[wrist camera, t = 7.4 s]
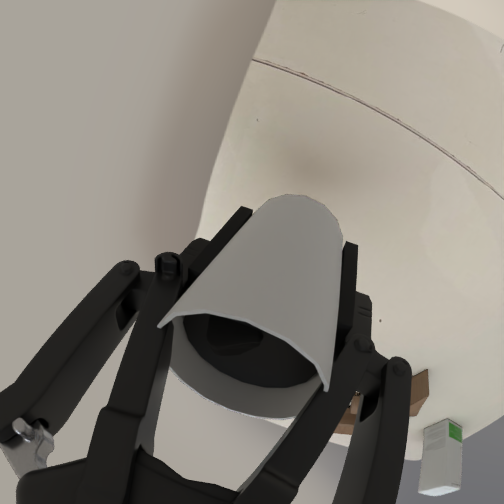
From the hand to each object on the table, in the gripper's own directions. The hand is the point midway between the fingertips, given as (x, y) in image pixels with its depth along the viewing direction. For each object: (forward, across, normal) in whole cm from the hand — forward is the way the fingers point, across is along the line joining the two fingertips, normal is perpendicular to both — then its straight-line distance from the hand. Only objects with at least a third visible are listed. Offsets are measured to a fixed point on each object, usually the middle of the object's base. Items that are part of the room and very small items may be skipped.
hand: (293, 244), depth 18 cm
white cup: (0, 0, 0) cm, 0 cm away
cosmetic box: (+13, +44, -38) cm, 59 cm away
